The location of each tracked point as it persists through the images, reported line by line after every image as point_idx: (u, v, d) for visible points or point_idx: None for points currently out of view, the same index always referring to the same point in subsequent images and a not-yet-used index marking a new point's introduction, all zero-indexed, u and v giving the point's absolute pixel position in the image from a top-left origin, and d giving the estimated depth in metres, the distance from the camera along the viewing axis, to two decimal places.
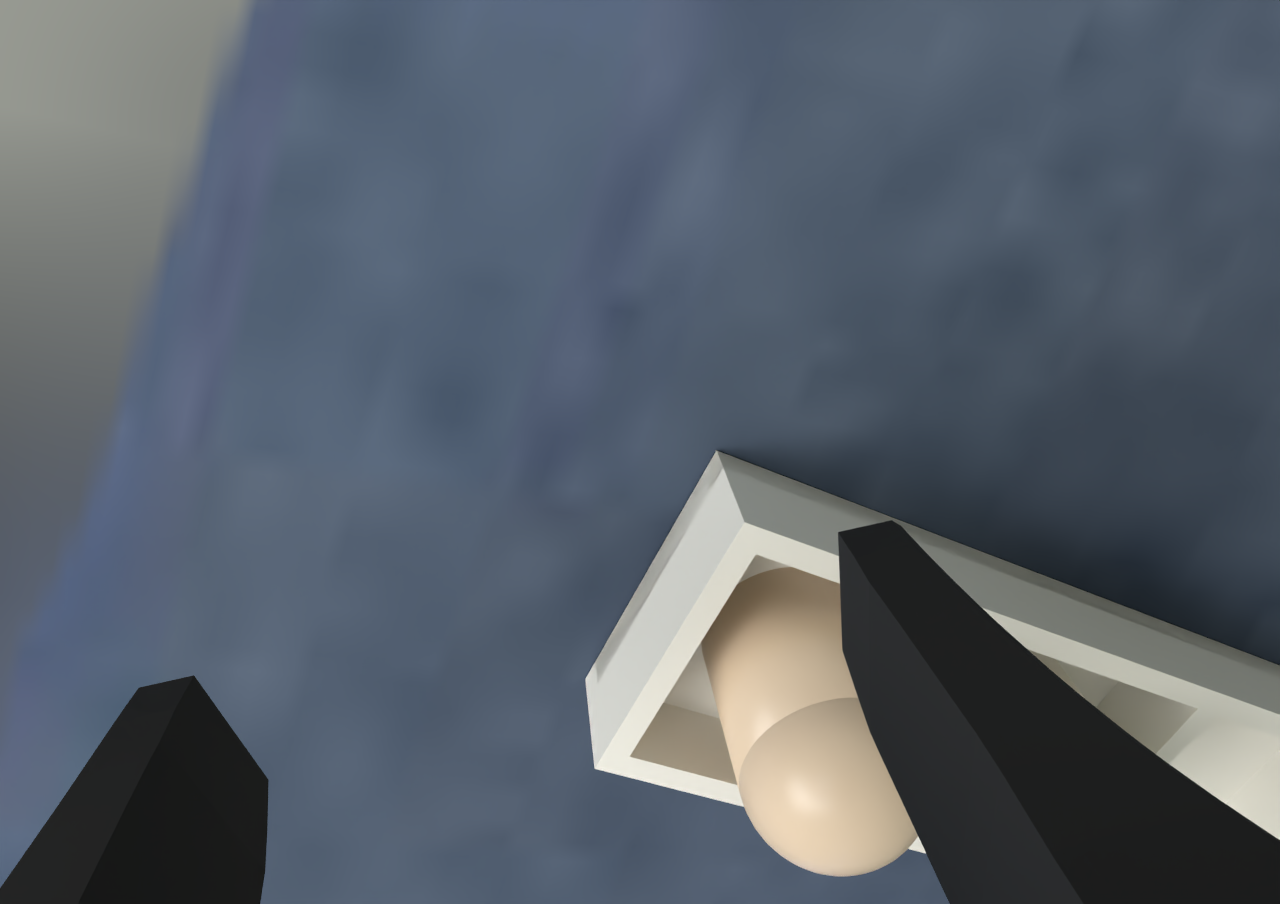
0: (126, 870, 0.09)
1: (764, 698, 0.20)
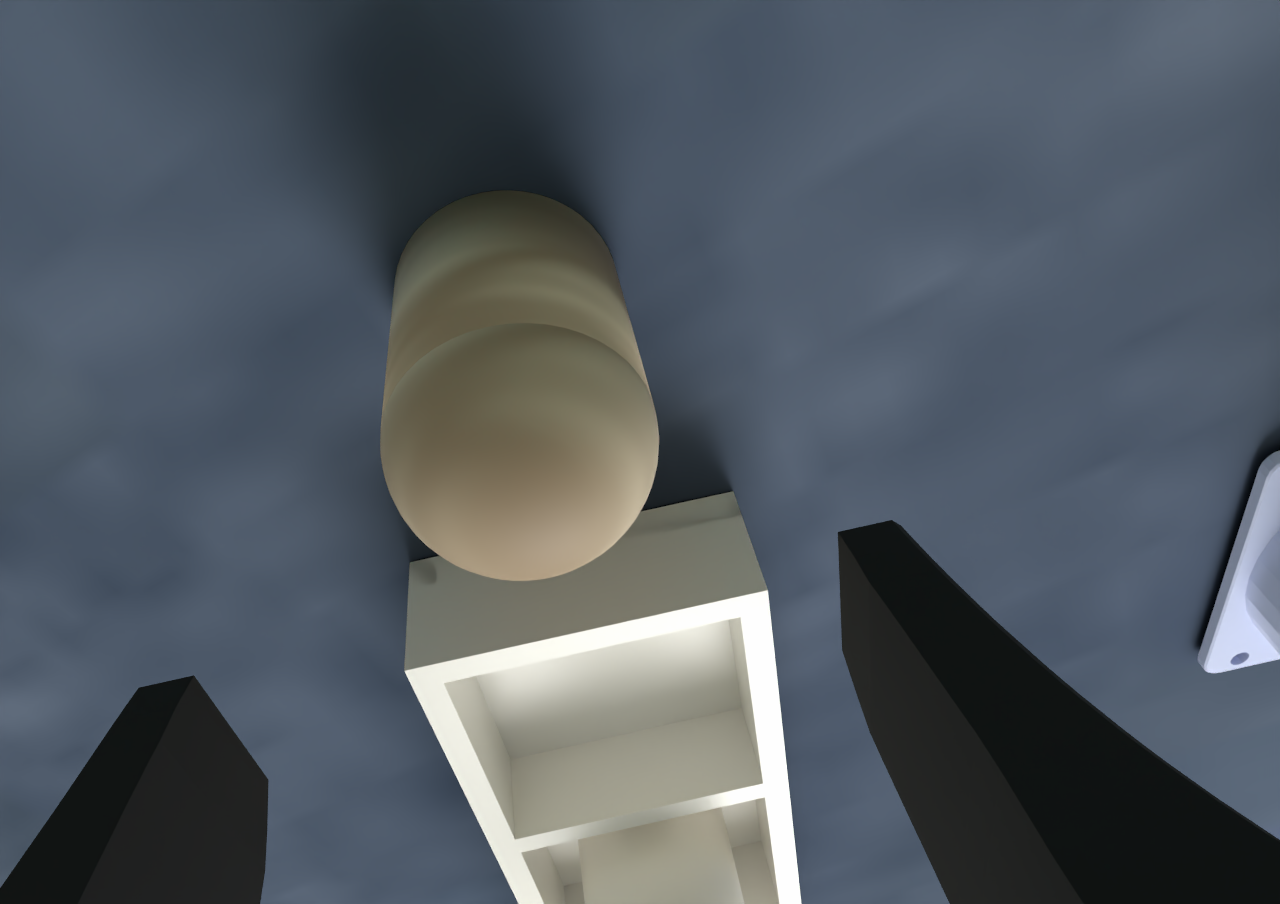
0: (126, 870, 0.09)
1: None
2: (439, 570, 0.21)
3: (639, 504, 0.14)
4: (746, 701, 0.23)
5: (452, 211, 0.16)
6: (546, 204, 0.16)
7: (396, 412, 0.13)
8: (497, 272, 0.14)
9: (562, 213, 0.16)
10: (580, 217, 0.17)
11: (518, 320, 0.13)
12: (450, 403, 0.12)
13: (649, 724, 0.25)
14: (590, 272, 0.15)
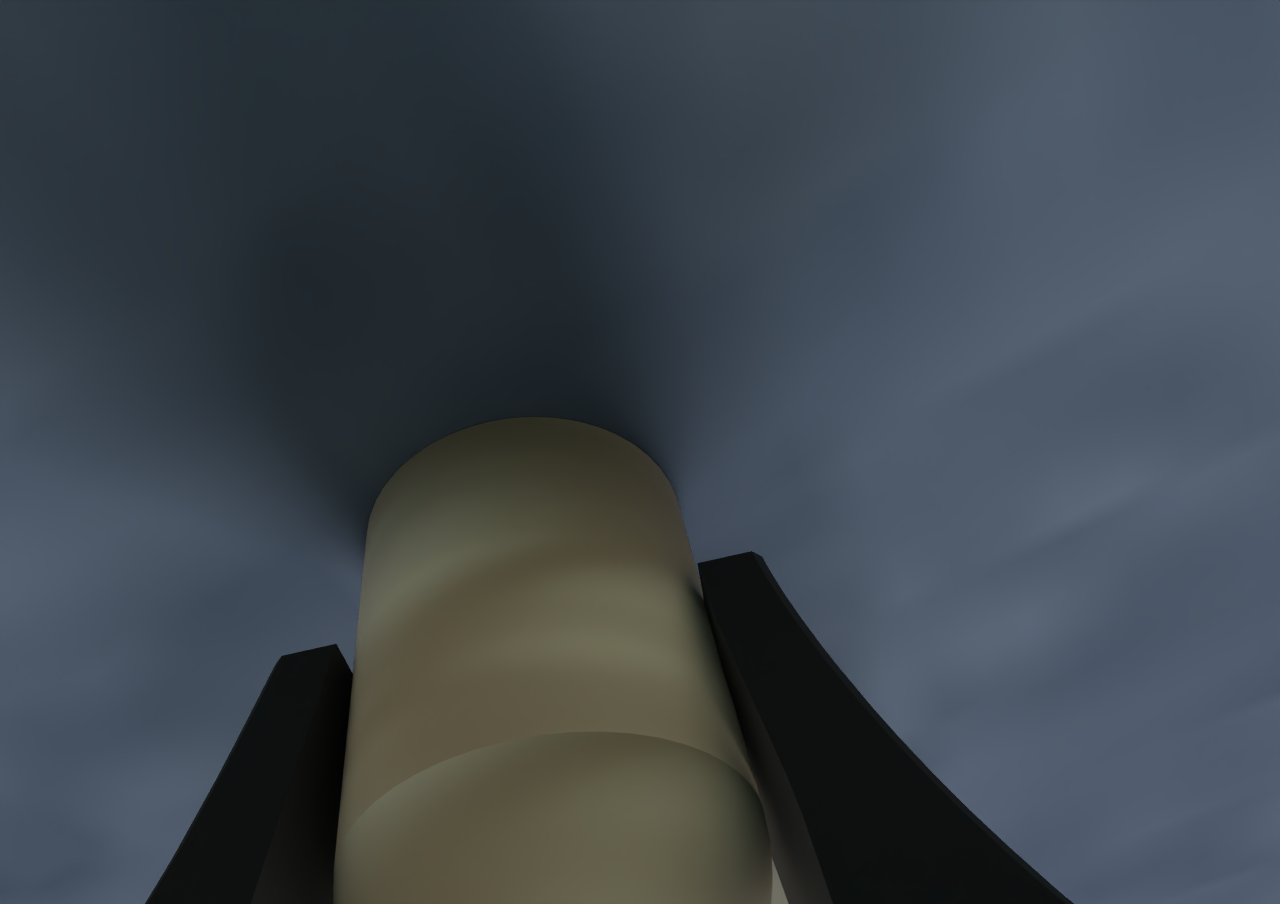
0: (298, 831, 0.09)
1: None
2: None
3: None
4: None
5: (449, 453, 0.11)
6: (585, 439, 0.11)
7: (355, 879, 0.08)
8: (519, 602, 0.09)
9: (608, 450, 0.11)
10: (631, 446, 0.12)
11: (556, 726, 0.08)
12: (444, 901, 0.07)
13: None
14: (656, 572, 0.10)
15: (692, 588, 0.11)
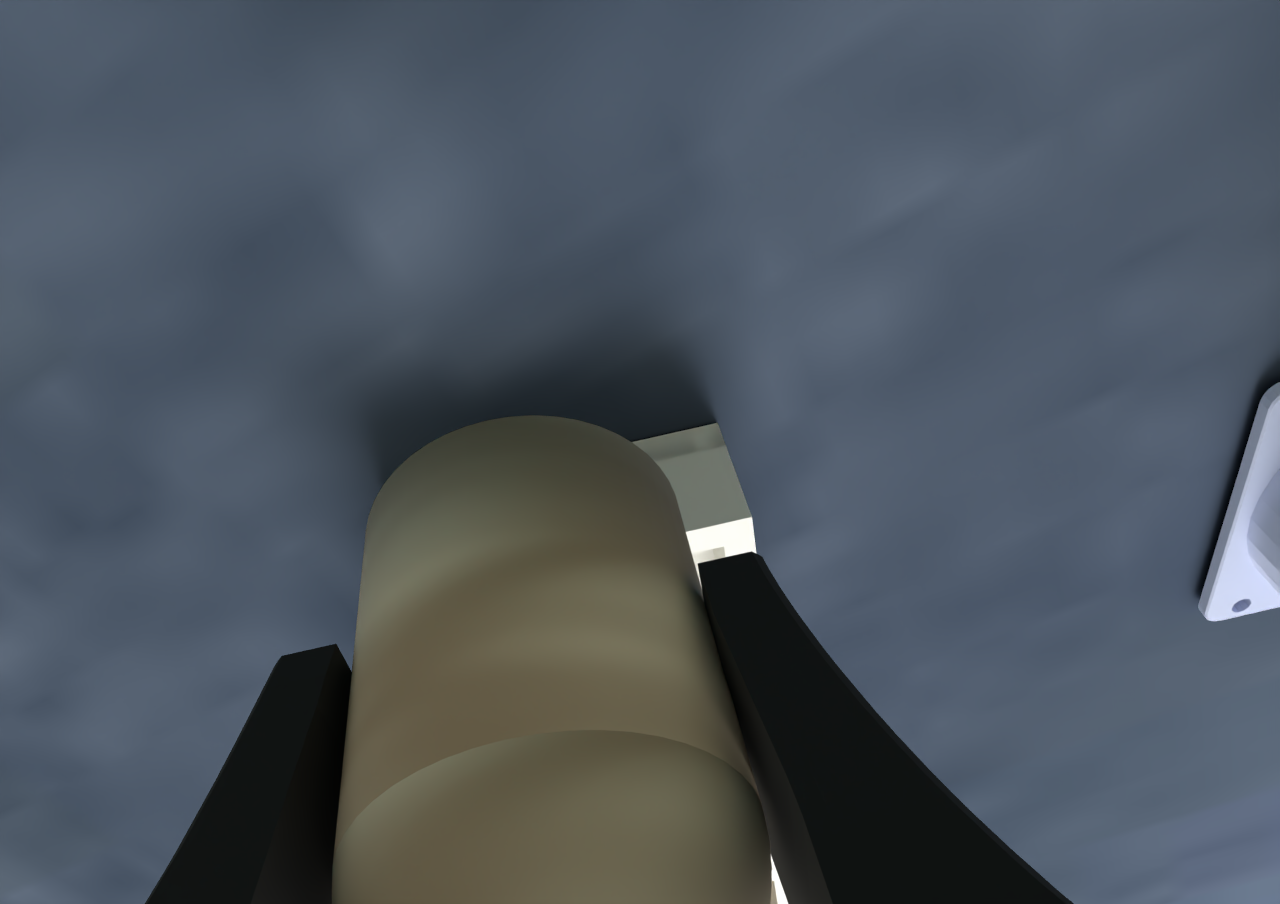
0: (297, 831, 0.09)
1: None
2: None
3: None
4: None
5: (447, 452, 0.11)
6: (584, 438, 0.11)
7: (354, 878, 0.08)
8: (517, 600, 0.09)
9: (607, 449, 0.11)
10: (630, 444, 0.12)
11: (555, 725, 0.08)
12: (443, 900, 0.07)
13: None
14: (655, 570, 0.10)
15: (691, 587, 0.11)
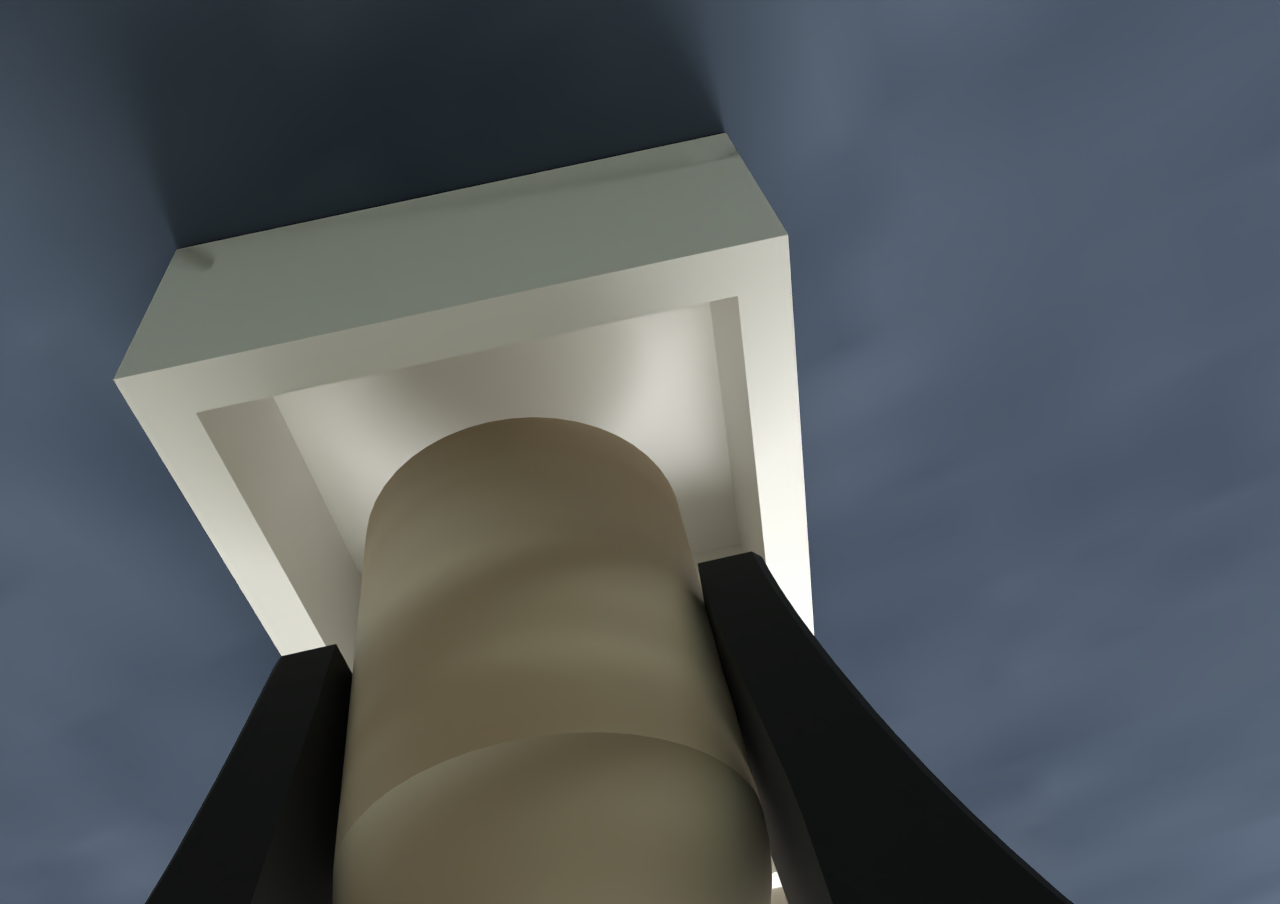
0: (298, 831, 0.09)
1: None
2: (220, 254, 0.12)
3: None
4: (747, 508, 0.14)
5: (448, 454, 0.11)
6: (585, 439, 0.11)
7: (354, 881, 0.08)
8: (519, 602, 0.09)
9: (608, 450, 0.11)
10: (630, 447, 0.12)
11: (556, 726, 0.08)
12: (443, 902, 0.07)
13: None
14: (655, 572, 0.10)
15: (691, 588, 0.11)
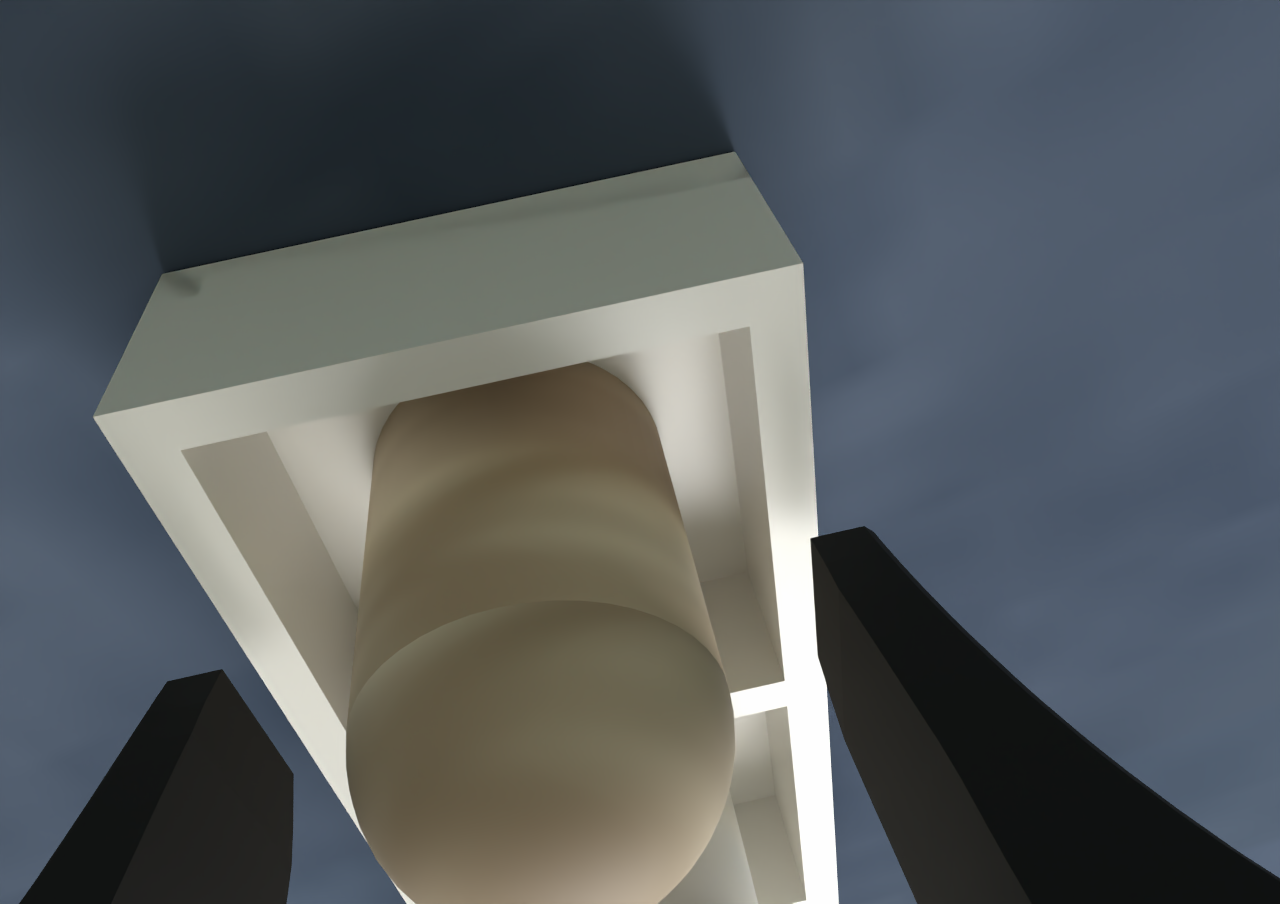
0: (160, 863, 0.09)
1: None
2: (208, 280, 0.12)
3: (710, 837, 0.10)
4: (757, 539, 0.13)
5: None
6: (572, 369, 0.12)
7: (365, 729, 0.09)
8: (510, 499, 0.10)
9: (594, 380, 0.12)
10: (615, 379, 0.13)
11: (542, 595, 0.09)
12: (443, 738, 0.08)
13: None
14: (634, 480, 0.11)
15: (668, 500, 0.12)
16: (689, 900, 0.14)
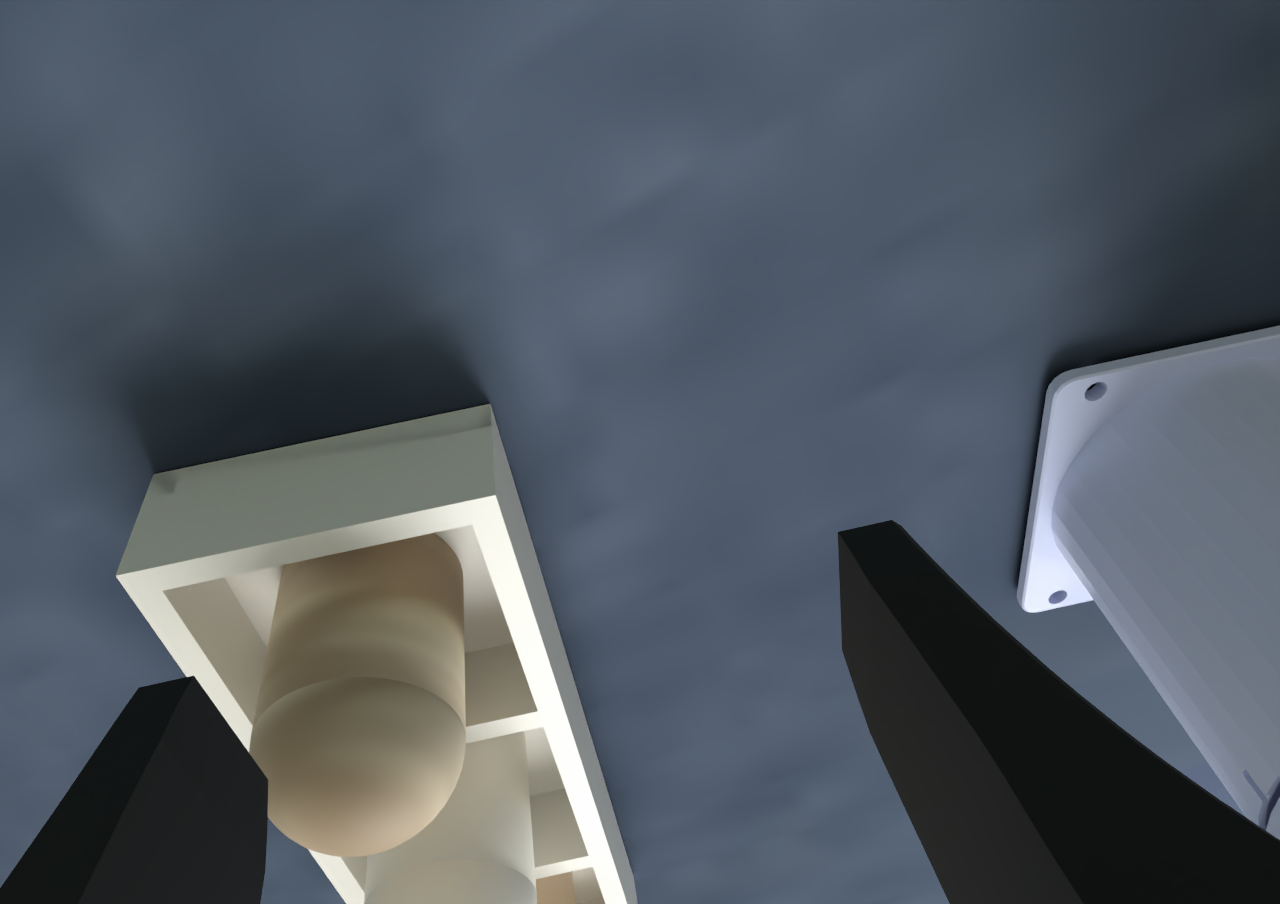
0: (126, 870, 0.09)
1: None
2: (180, 481, 0.20)
3: (443, 800, 0.18)
4: None
5: None
6: None
7: (257, 742, 0.18)
8: (342, 617, 0.19)
9: None
10: None
11: (348, 674, 0.18)
12: (292, 747, 0.17)
13: None
14: (420, 601, 0.20)
15: (444, 609, 0.20)
16: (474, 846, 0.22)
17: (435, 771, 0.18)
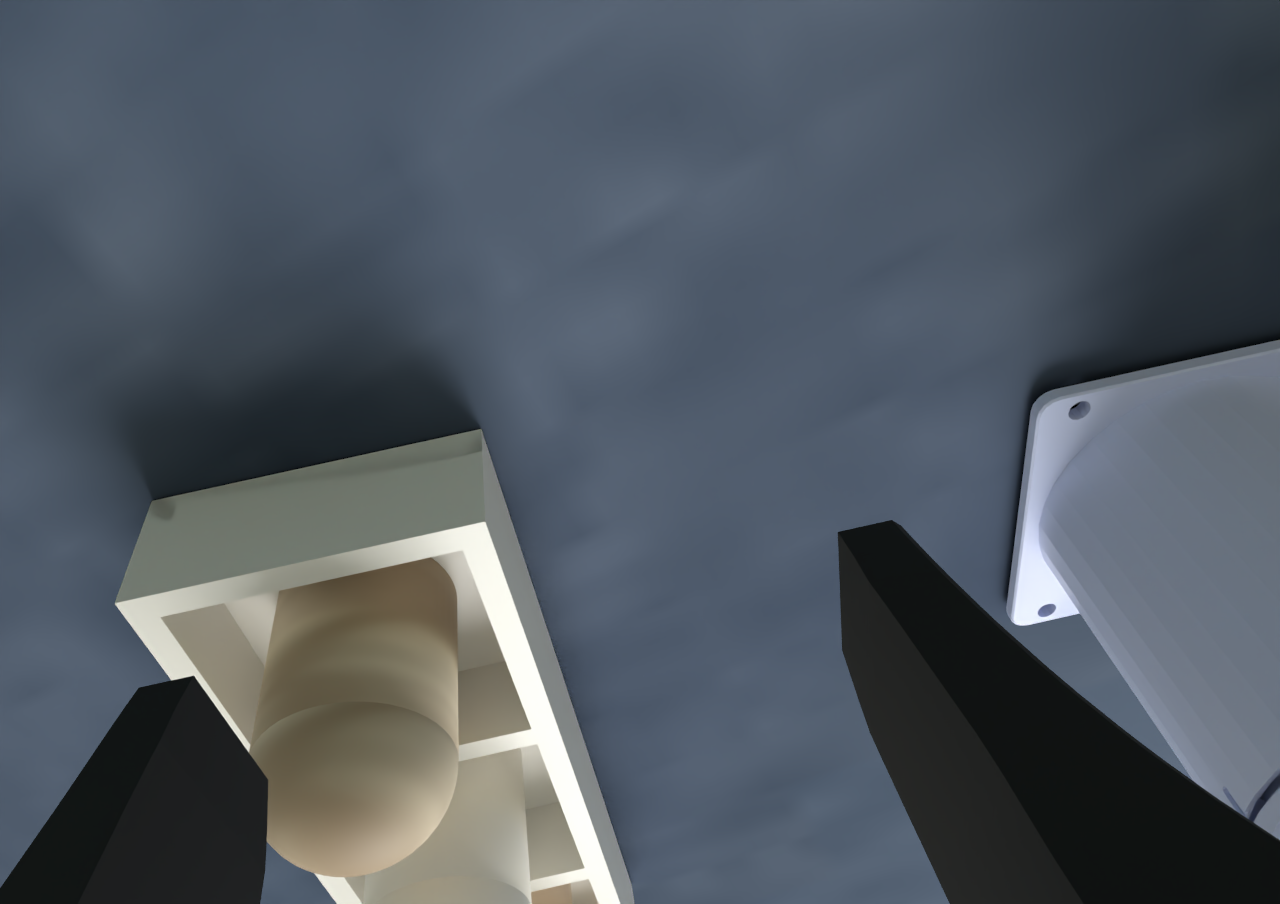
0: (126, 870, 0.09)
1: None
2: (177, 508, 0.21)
3: (436, 821, 0.19)
4: None
5: None
6: None
7: None
8: (336, 641, 0.19)
9: None
10: None
11: (341, 699, 0.18)
12: (287, 772, 0.17)
13: None
14: (413, 624, 0.20)
15: (437, 632, 0.21)
16: (470, 862, 0.23)
17: (427, 793, 0.18)
